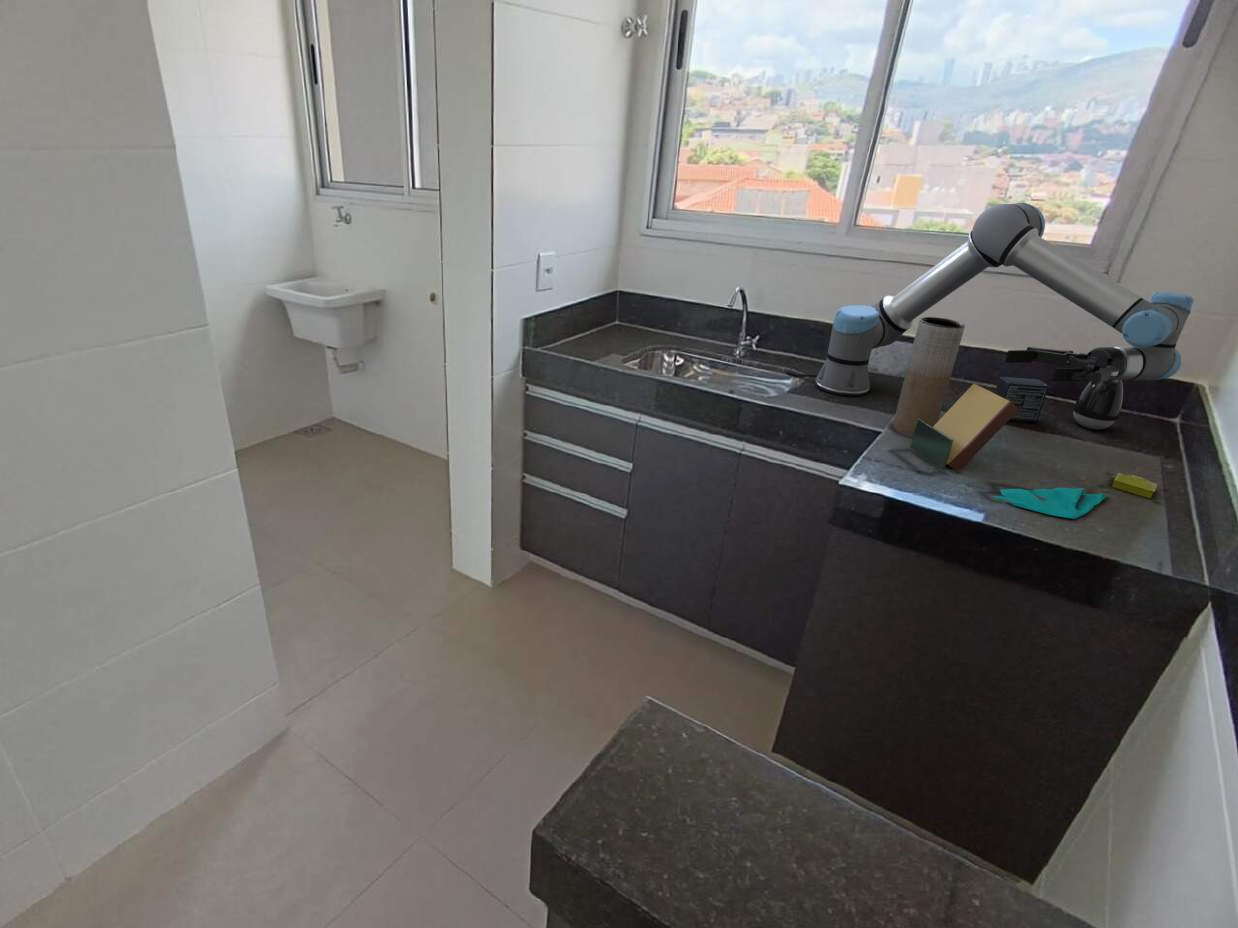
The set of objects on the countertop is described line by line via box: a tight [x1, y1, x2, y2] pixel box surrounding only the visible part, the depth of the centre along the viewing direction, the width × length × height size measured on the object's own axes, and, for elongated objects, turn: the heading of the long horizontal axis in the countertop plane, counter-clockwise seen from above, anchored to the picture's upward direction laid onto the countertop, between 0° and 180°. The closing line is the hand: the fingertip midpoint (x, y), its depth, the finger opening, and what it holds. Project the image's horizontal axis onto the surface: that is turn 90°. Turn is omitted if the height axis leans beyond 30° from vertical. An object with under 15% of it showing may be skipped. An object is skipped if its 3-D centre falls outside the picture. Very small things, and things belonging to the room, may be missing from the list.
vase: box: [892, 316, 966, 436], centre depth 160 cm, size 10×10×28 cm
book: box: [933, 383, 1019, 471], centre depth 147 cm, size 3×12×18 cm
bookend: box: [910, 419, 953, 471], centre depth 147 cm, size 5×12×8 cm, turn 11°
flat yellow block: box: [1111, 472, 1164, 504], centre depth 142 cm, size 10×9×3 cm
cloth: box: [993, 486, 1108, 520], centre depth 134 cm, size 26×14×2 cm, turn 84°
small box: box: [993, 376, 1050, 424], centre depth 177 cm, size 11×6×10 cm, turn 84°
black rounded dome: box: [1072, 380, 1124, 431], centre depth 173 cm, size 10×10×15 cm
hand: (1029, 365), depth 144 cm, fingers open, 13 cm apart
